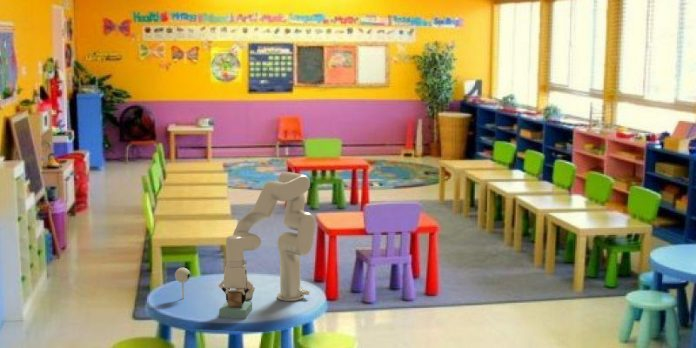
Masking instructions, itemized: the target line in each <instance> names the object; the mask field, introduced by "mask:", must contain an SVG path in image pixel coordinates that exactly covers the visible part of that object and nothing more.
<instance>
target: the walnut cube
mask: <svg viewBox="0 0 696 348" xmlns="http://www.w3.org/2000/svg"><path fill="white" fill-rule="evenodd" d="M243 304H244V303H242V291H241V290H235V289H231V288H230V290H229V292H228V306H232V307H241V306H242V305H243Z"/></svg>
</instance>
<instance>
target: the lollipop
mask: <svg viewBox="0 0 696 348" xmlns="http://www.w3.org/2000/svg"><path fill="white" fill-rule="evenodd" d="M174 278H175V280H176V281H177V282H178V283H181V284H182V286H181V287H182V289H181V291H182V299H183V300H184V299H185V289H184V288H185V285H184V284H185V283H187V282H188V281H189V280H190V278H191V271H190V270H189V269H188V268H186V267H179V268H177V270H176V271H175V272H174Z"/></svg>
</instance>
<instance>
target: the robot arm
mask: <svg viewBox="0 0 696 348" xmlns="http://www.w3.org/2000/svg"><path fill="white" fill-rule="evenodd" d="M310 187H311V180H310V178H309V177H308V176H307V175H305V174H301V173H296V172H292V171H282V172H281V173H279V175H278V181H276V180H269V181H266V182H265V184H264V186H263V187H262V189H261V191H260V193H259V196H258V198H257V200H256V202H255V204H254V206H253V208H252V209H251V210H249V211H248V212H247V213H246V214H245V215H244V216H243V217H242V218H241V219H240V220H239V221H238V223H237V224H236V227H235V229H234V231H233V233H232V235H229V236H227V237H226V240H225V242H226V243H225V247H226V248H225V249H226V252H225V253H226V265H225V266H224V273H223V280H222V281H221V282H220V283H219V284H218V287H219V288H220V290H222V292H223V293H224V294H225V301H227V303H228V292H229V291H230V290H231V289H234V290H235V289H241V291H242V303H244V302H247V300H246V293H247V292H248V291H249V290H250V289H251V288H252V287H254V285H252V284H253V283H252V282H251V281H250V280H249V278H248V272H247V266H246V265H247V263H248V261H246V260H245V259H244V255H245V254H244V252H248V251H249V252H251V251H255V250H258V249H259V248H260V246H261V243H262V240H261V238H260V236H259V235H257V234H255V233H253V232H252V233H251V232H249V231H250V230H251V228H252V227H253V226H255V224H257V223H260V222H261V221H265V220H267V219H269V218H270V217H271V216H272V213H273V211H274V210H275V207H276V205H277V203H278V202H283V203H284V202H285V211H284V218H283V224H284V226H285V227H286V228H288V229H290V230H292V231H284V232H282V233H280V235H279V236H278V238H277V248H278V252H279V264H280V265H279V282H280V283H279V284H280V286H279V288H280V290H279V291H280V292H279V293H278V294H276V298H277V299H278V300H280V301H284V302H285V301H286V302H295V301H296V302H297V301H301V300H302V299H303V298H305V296H310V293H311V292H310V290H308V289H303V287H302V286H301V258H300V257H303V256H304V257H305V256H307V255H309V253H310V252H311V250H312V247H313V244H314V243H313V242H314V235H315V228H316V221H315V217H314V214H312V213H311V212H307V211H305V202H306V199H305V198H306V197H305V194H304V193H306V192H307V191H308V190H309V188H310ZM293 231H297V233H296V232H293ZM248 280H249V281H250V282H251V283H252V284H251V283H250V282H249V281H248ZM247 285H248V288H247V289H245V287H246V286H247Z"/></svg>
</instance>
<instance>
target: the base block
mask: <svg viewBox="0 0 696 348" xmlns="http://www.w3.org/2000/svg"><path fill="white" fill-rule="evenodd" d="M252 310H253V302H252V301H245V302H244V304H243V305H242V306H241V307H232V306H228V303H227V300H225V302H224V303H223V304H222V306H221V307H220V308H219V311H218V312H219V318H228V317H230V318H229V319H231V318H232V319H233V318H234V319H247V318H248V316H249V315H250V313H251V312H252Z"/></svg>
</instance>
